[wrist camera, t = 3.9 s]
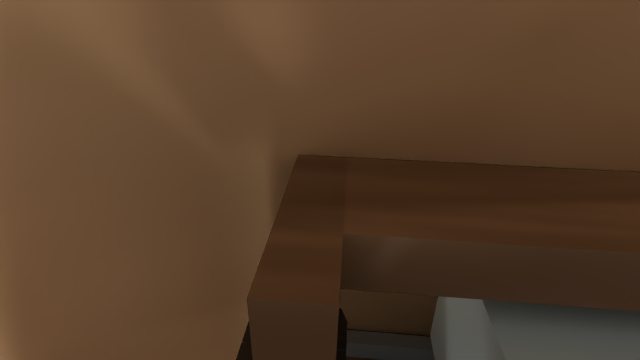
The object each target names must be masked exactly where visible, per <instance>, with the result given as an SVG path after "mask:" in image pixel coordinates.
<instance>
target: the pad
mask: <svg viewBox="0 0 640 360" xmlns="http://www.w3.org/2000/svg"><path fill="white" fill-rule="evenodd" d="M346 356H348V357H359V358H370V359H381V360H435V358H434V353H433V348H432V343H431V338H430V337H428V336H416V335H404V334H392V333H380V332H368V331H356V330H347V347H346Z"/></svg>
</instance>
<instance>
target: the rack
mask: <svg viewBox="0 0 640 360" xmlns="http://www.w3.org/2000/svg"><path fill="white" fill-rule="evenodd" d="M340 289H349V290H362V291H375V292H388V293H401V294H415V295H428V296H441V297H454V298H467V299H480V300H494V301H507V302H520V303H533V304H546V305H560V306H573V307H586V308H599V309H612V310H626V311H639V312H640V172H625V171H605V170H586V169H566V168H546V167H526V166H506V165H487V164H467V163H447V162H427V161H408V160H388V159H368V158H348V157H328V156H309V155H298V158H297V160H296V163H295V166H294V169H293V171H292V174H291V177H290V180H289V183H288V185H287V188H286V191H285V194H284V197H283V199H282V202H281V205H280V208H279V210H278V213H277V216H276V219H275V222H274V224H273V227H272V230H271V233H270V235H269V238H268V241H267V244H266V247H265V249H264V252H263V255H262V258H261V260H260V263H259V266H258V269H257V272H256V274H255V277H254V280H253V283H252V286H251V288H250V291H249V294H248V297H247V304H248V315H249V325H250V336H251V347H252V357H253V360H336V351H337V334H338V317H339V300H340ZM346 360H381V359H370V358H359V357H348V356H346Z"/></svg>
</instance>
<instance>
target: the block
mask: <svg viewBox="0 0 640 360" xmlns="http://www.w3.org/2000/svg"><path fill="white" fill-rule="evenodd" d="M430 338H431V343H432V348H433V353H434V358H435V360H640V312H639V311H626V310H612V309H599V308H586V307H573V306H560V305H546V304H533V303H520V302H507V301H494V300H480V299H467V298H454V297H441V296H438V299H437V304H436V309H435V314H434V318H433V323H432V328H431V333H430Z"/></svg>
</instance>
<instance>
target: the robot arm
mask: <svg viewBox="0 0 640 360" xmlns="http://www.w3.org/2000/svg"><path fill="white" fill-rule="evenodd" d="M346 347H347V320H346V318H345V316H344V314H343V311H342V309H341V308H339V317H338V334H337V351H336V360H346ZM236 360H253V357H252V347H251V336H250V325H249V322H248V325H247V328H246V331H245V334H244V337H243V341H242V343H241V346H240V349H239V352H238V355H237V358H236Z"/></svg>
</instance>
